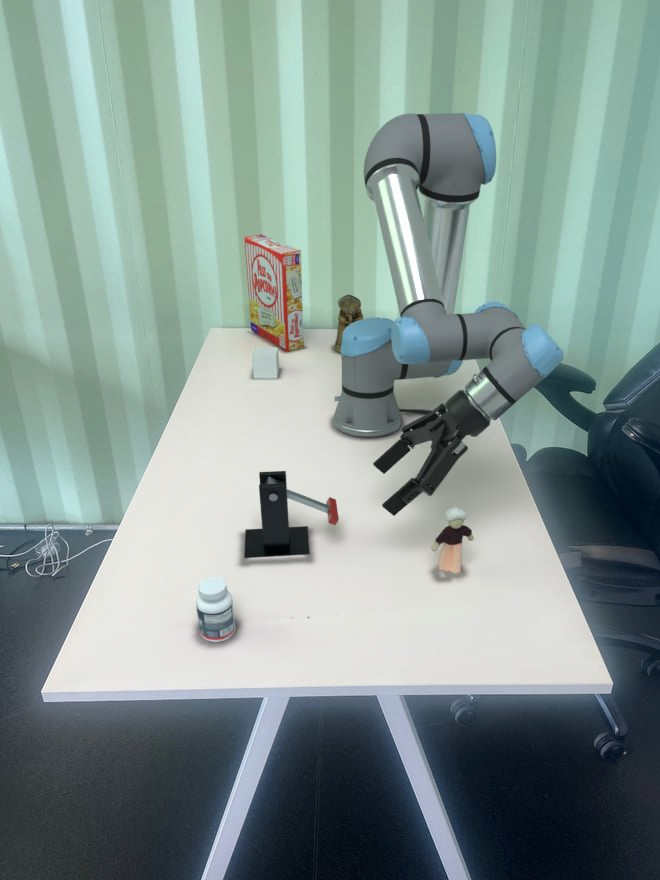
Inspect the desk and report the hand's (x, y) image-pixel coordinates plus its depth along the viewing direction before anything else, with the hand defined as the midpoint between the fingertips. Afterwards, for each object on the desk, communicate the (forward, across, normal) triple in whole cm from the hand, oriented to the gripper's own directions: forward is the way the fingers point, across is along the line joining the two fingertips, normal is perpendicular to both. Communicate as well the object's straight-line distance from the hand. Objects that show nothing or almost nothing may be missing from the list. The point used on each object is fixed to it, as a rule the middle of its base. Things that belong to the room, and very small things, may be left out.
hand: (382, 488), depth 129 cm
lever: (+12, 0, -9) cm, 15 cm away
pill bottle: (+27, +21, -12) cm, 36 cm away
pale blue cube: (+23, -78, -7) cm, 81 cm away
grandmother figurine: (0, +10, +15) cm, 18 cm away
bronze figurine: (+7, -92, +9) cm, 93 cm away
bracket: (+21, 0, -5) cm, 21 cm away
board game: (+21, -103, -5) cm, 105 cm away
